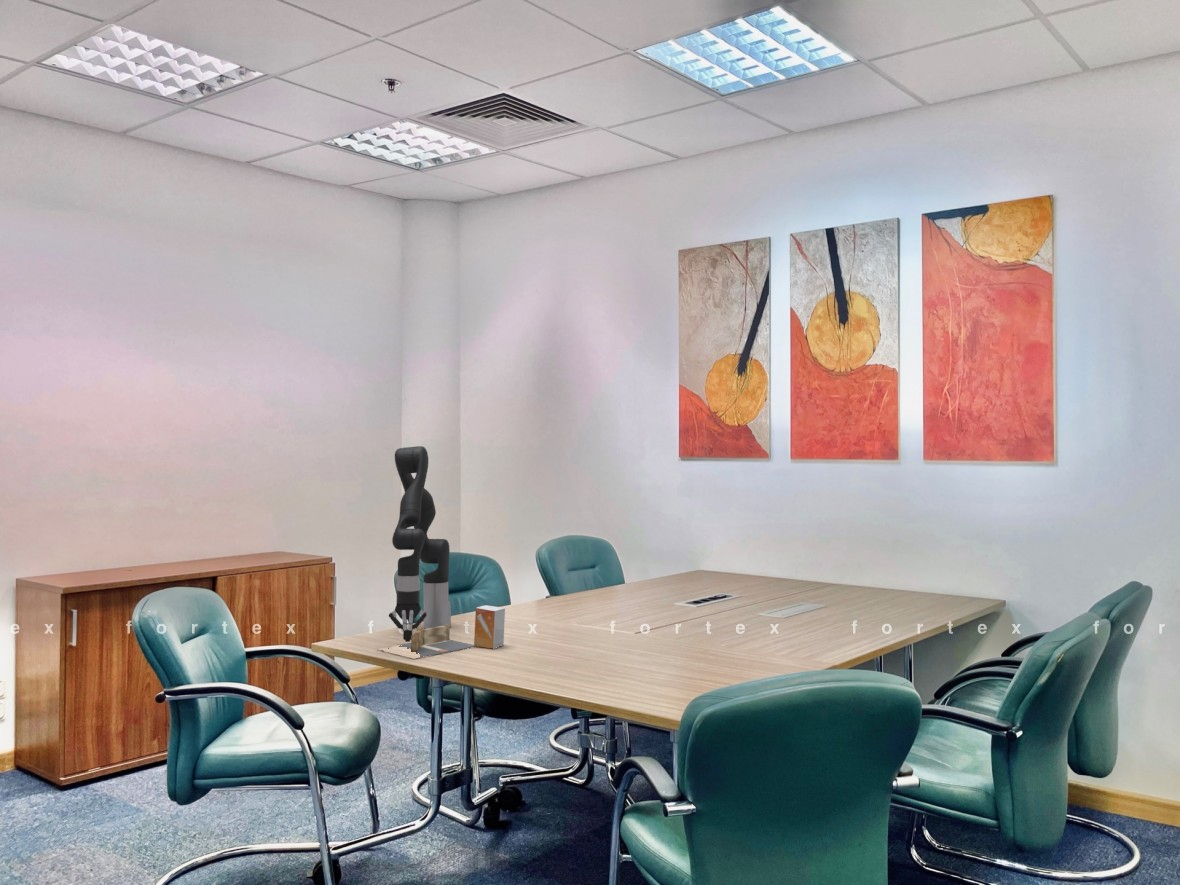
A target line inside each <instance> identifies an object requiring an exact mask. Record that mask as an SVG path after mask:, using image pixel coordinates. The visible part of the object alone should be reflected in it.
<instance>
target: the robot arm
mask: <svg viewBox="0 0 1180 885" xmlns="http://www.w3.org/2000/svg"><path fill="white" fill-rule="evenodd" d="M394 464H395V468H396V470H397V471H396V472H397V474H398V476H399V479H400V482H401V484H402V487H403V491H404V493H403V495H402V497H401V500H400V505H399V518H398V522H397V525H396V527H395V529H394V532H393V535H392V539H391V542H392V546H393V548H395V549H396V550H400V551H406V550H407V551H413V552H412V554H411V555H407V556H403V557H399V559H398V560H397V578H396V587H395V589H396V606H395V608H394V609H393V611H391V612H389V614H388V617H389V619H390V620H391V621H392V622H393V624H394V625H395V626H396V627H397V629H401V630H402V632H403V634H402V637H403V638H402V639H403V641H405V643H411V636H412V635H413V630H415V629H417V628H419V626H420V625H421V623H422V622H423V629H424V628H425V629H428V628H434V627H439V626H444V624H449V628H451V627H452V620H451V619H452V612H451V611H452V607H451V606H452V602H451V601H449V573H450V543H449V541H448V540H447V539H445V538H429V537H428V532H429V528H430V527H431V525H432V523H433V521H434V520H435V516H436V513H437V511H436V507H435V506H436V505H435V502H434V498H433V496H432V494H431V493H430V492H429V491H428V490H427V489H426V488H425V485H426V479H427V474H428V469H429V454H428V451H427V449H426V447H425V446H422V445H421V446H419V445H418V446H416V445H415V446H408V447H401V448H397V449H396V450H395V451H394ZM412 474H415V476H413V475H412ZM412 527H413V528H412ZM420 561H421V563H422V564H429V565H430V564H433V565H435V564H437V568H436V569H435V570H432V571H430V572H427V573H425V574H424V575H423V578H422V580H423V582H422V583H423V609H422V607H421V605H420V602H421V601H420V600H421V599H420V598H421V597H420V593H421V587H420V584H421V581H420ZM397 615H398V616H397ZM417 616H419V618H418V620H416V622H414V619H416V617H417ZM397 617H399V618H400V619H401V620H402V621H401V622H402V623H401V622H400V620H399V619H398V618H397Z"/></svg>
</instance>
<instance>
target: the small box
mask: <svg viewBox="0 0 1180 885" xmlns="http://www.w3.org/2000/svg"><path fill="white" fill-rule="evenodd" d="M505 618H506V607H499V606H496V605H494V606H493V605H487V604H486V605H481V606H477V607H475V619H474V620H475V621H474V638H473V639H474V640H473V645H476V646H477V647H482V648H487V649H490V648H495V649H497V648H496V647H498V648H500V647H499V646H501V647H503V646H504V641H505V640H504V639H505V622H506V621H505ZM502 645H503V646H502Z"/></svg>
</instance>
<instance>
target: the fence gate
mask: <svg viewBox="0 0 1180 885" xmlns="http://www.w3.org/2000/svg"><path fill="white" fill-rule="evenodd" d="M410 643H411V652H417V650H418V648H419V647H420V646H421V630H418V631H417V630H416V631H415V633H414V634H412V636H411V640H410Z"/></svg>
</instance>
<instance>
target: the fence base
mask: <svg viewBox="0 0 1180 885" xmlns="http://www.w3.org/2000/svg"><path fill="white" fill-rule="evenodd" d="M418 630H421V646H423V645H427V644H432V643H437V642H443V641H449V640H450V627H449V624H444V626H439V627H434V628H428V629H424V627H417V628H416V632H417V631H418Z"/></svg>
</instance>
